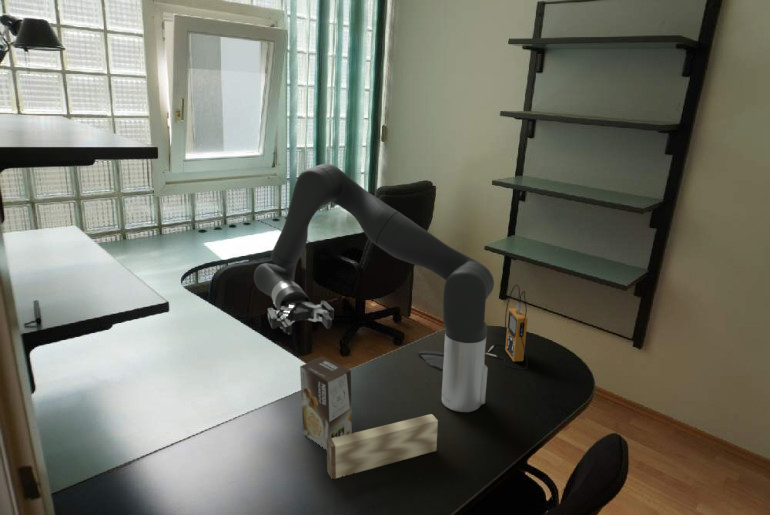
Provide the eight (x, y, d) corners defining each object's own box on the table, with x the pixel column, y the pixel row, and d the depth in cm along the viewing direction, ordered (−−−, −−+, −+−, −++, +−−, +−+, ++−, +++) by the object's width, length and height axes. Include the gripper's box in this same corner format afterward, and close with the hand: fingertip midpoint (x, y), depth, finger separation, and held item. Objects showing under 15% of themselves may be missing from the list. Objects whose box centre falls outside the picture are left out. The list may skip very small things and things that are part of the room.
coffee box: (353, 439, 107) (353, 370, 102) (330, 454, 103) (328, 382, 98) (324, 421, 113) (322, 355, 108) (300, 434, 109) (298, 365, 104)
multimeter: (476, 345, 149) (481, 280, 143) (509, 344, 150) (516, 279, 145) (491, 371, 135) (498, 299, 129) (528, 369, 136) (536, 298, 131)
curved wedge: (431, 349, 147) (431, 344, 147) (471, 366, 138) (471, 361, 138) (412, 359, 142) (412, 354, 141) (452, 377, 133) (453, 372, 132)
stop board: (430, 443, 106) (431, 412, 104) (436, 451, 104) (438, 420, 102) (327, 470, 98) (326, 438, 96) (331, 480, 96) (331, 446, 93)
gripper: (260, 289, 121) (276, 316, 107) (318, 282, 127) (341, 306, 113) (261, 318, 123) (277, 348, 109) (318, 310, 129) (341, 338, 115)
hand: (309, 327), depth 111 cm, fingers open, 8 cm apart
